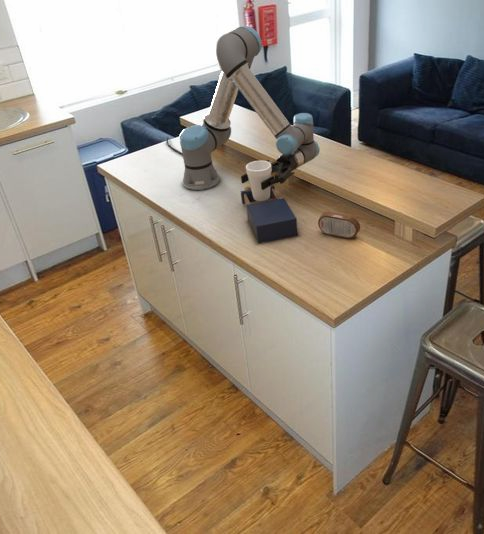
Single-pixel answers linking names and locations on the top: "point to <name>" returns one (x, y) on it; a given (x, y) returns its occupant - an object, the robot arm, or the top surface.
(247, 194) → the drawer
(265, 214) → the cabinet
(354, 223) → the tin
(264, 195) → the foam cup
